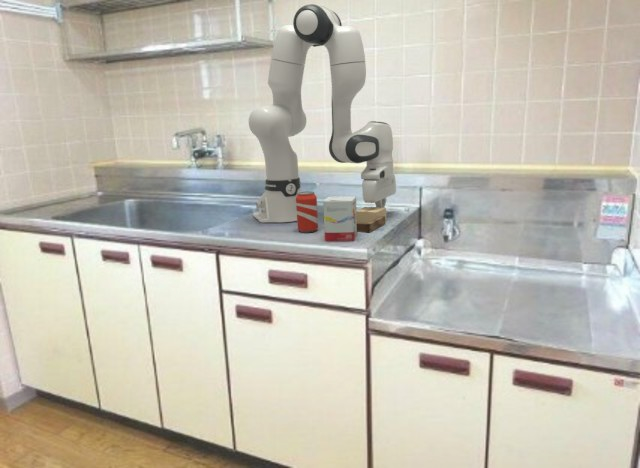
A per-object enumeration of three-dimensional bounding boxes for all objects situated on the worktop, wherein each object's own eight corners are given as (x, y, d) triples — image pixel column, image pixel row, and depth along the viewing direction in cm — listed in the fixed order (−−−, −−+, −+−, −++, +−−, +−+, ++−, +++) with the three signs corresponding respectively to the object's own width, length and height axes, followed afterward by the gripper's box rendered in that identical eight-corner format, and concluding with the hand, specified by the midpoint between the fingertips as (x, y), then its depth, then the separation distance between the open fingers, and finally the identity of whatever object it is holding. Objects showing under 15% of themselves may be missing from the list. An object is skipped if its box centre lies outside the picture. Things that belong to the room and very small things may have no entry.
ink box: (354, 241, 140) (352, 199, 137) (324, 241, 142) (322, 200, 139) (358, 234, 148) (356, 194, 145) (329, 234, 150) (327, 195, 147)
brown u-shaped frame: (351, 221, 165) (351, 214, 164) (385, 224, 159) (385, 216, 158) (334, 230, 155) (333, 222, 154) (369, 232, 149) (369, 224, 148)
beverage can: (322, 230, 155) (320, 192, 152) (305, 234, 151) (303, 195, 149) (310, 227, 160) (308, 190, 157) (294, 231, 156) (291, 193, 153)
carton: (365, 219, 168) (365, 206, 167) (386, 221, 165) (386, 207, 164) (355, 224, 162) (354, 211, 160) (376, 226, 158) (376, 212, 157)
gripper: (383, 167, 177) (384, 205, 180) (358, 174, 160) (359, 216, 163) (400, 167, 174) (400, 206, 177) (376, 174, 156) (377, 218, 160)
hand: (380, 211), depth 170 cm, fingers closed
